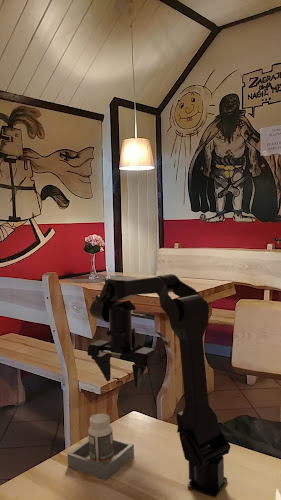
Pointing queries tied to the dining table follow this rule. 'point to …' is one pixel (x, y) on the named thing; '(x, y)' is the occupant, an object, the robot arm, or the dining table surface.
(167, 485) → the dining table surface
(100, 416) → the pill bottle
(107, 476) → the tray
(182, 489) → the dining table surface
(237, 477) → the dining table surface
